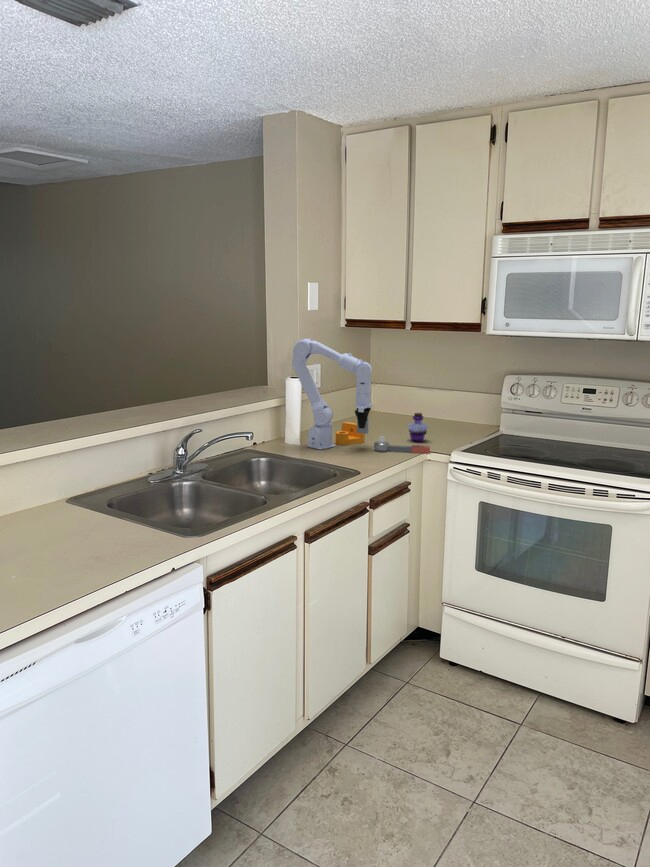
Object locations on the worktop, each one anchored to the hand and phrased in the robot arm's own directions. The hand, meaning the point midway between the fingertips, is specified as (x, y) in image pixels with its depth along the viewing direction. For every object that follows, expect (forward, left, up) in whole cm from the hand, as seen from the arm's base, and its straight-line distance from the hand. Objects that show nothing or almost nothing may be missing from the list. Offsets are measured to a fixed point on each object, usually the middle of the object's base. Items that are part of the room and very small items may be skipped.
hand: (362, 427), depth 265 cm
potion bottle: (+28, -6, -9) cm, 30 cm away
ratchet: (+9, -13, -9) cm, 18 cm away
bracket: (+10, +13, -5) cm, 17 cm away
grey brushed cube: (0, 0, -2) cm, 2 cm away
